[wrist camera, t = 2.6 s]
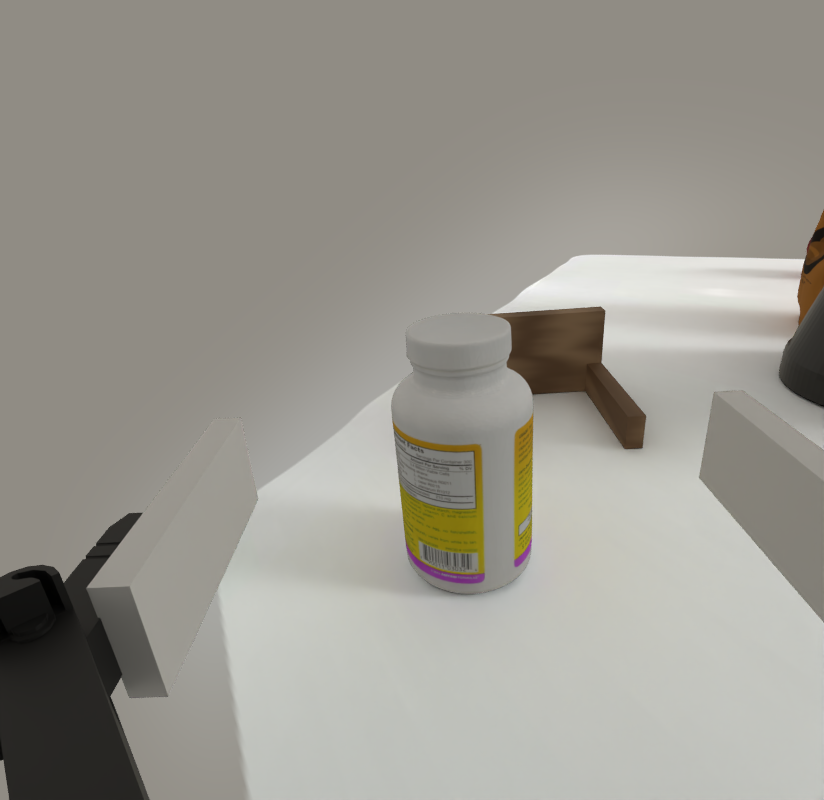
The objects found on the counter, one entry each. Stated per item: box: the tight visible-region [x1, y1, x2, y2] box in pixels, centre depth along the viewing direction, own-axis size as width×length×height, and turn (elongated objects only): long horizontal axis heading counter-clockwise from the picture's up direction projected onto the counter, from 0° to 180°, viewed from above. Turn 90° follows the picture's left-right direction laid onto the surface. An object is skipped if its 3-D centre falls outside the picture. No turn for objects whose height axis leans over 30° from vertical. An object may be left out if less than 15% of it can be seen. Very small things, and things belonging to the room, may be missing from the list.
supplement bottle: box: [391, 313, 533, 594], centre depth 27 cm, size 7×7×13 cm
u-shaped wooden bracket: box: [488, 307, 646, 449], centre depth 42 cm, size 12×11×7 cm
